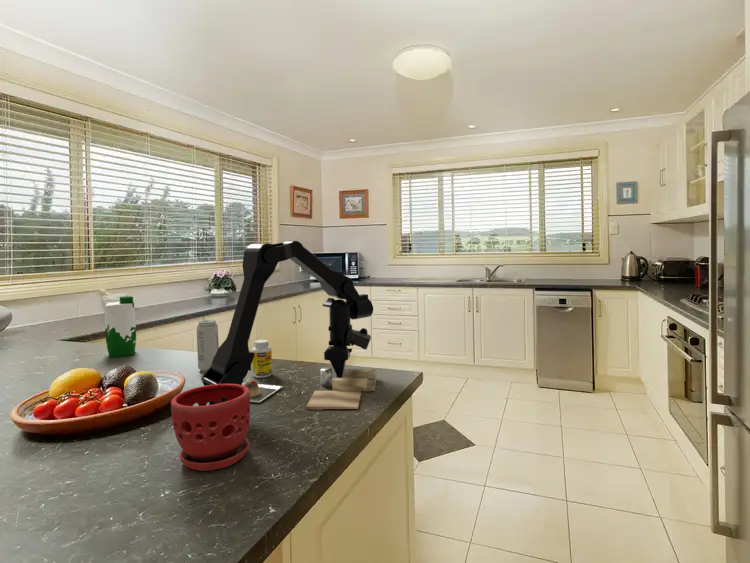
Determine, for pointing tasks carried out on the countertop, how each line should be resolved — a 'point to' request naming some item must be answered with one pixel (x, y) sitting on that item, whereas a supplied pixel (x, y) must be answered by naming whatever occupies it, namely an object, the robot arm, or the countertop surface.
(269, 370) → the supplement bottle
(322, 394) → the cork mat
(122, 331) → the milk carton
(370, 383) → the c link
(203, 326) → the energy drink can
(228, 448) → the plant pot
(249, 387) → the dessert
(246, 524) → the countertop surface
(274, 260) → the robot arm
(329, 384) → the steel post
